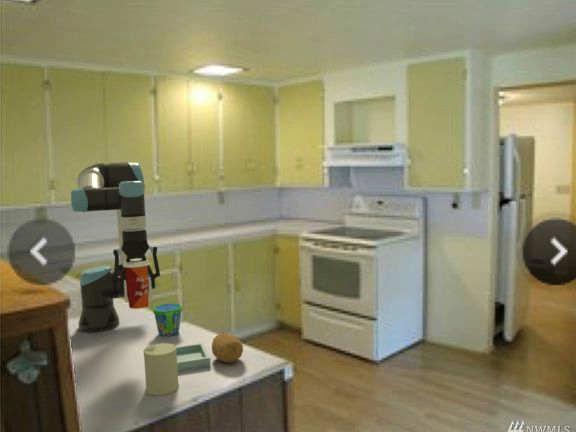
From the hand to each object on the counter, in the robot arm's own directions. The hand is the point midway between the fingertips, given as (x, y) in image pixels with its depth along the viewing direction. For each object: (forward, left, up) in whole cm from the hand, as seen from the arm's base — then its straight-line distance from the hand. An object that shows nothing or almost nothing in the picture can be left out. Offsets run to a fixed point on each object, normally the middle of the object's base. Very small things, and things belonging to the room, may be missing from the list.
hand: (138, 299), depth 165 cm
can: (+25, +4, -20) cm, 32 cm away
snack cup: (-22, +11, -20) cm, 31 cm away
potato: (+12, +26, -20) cm, 35 cm away
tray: (+8, +13, -20) cm, 25 cm away
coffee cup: (0, 0, -2) cm, 2 cm away
